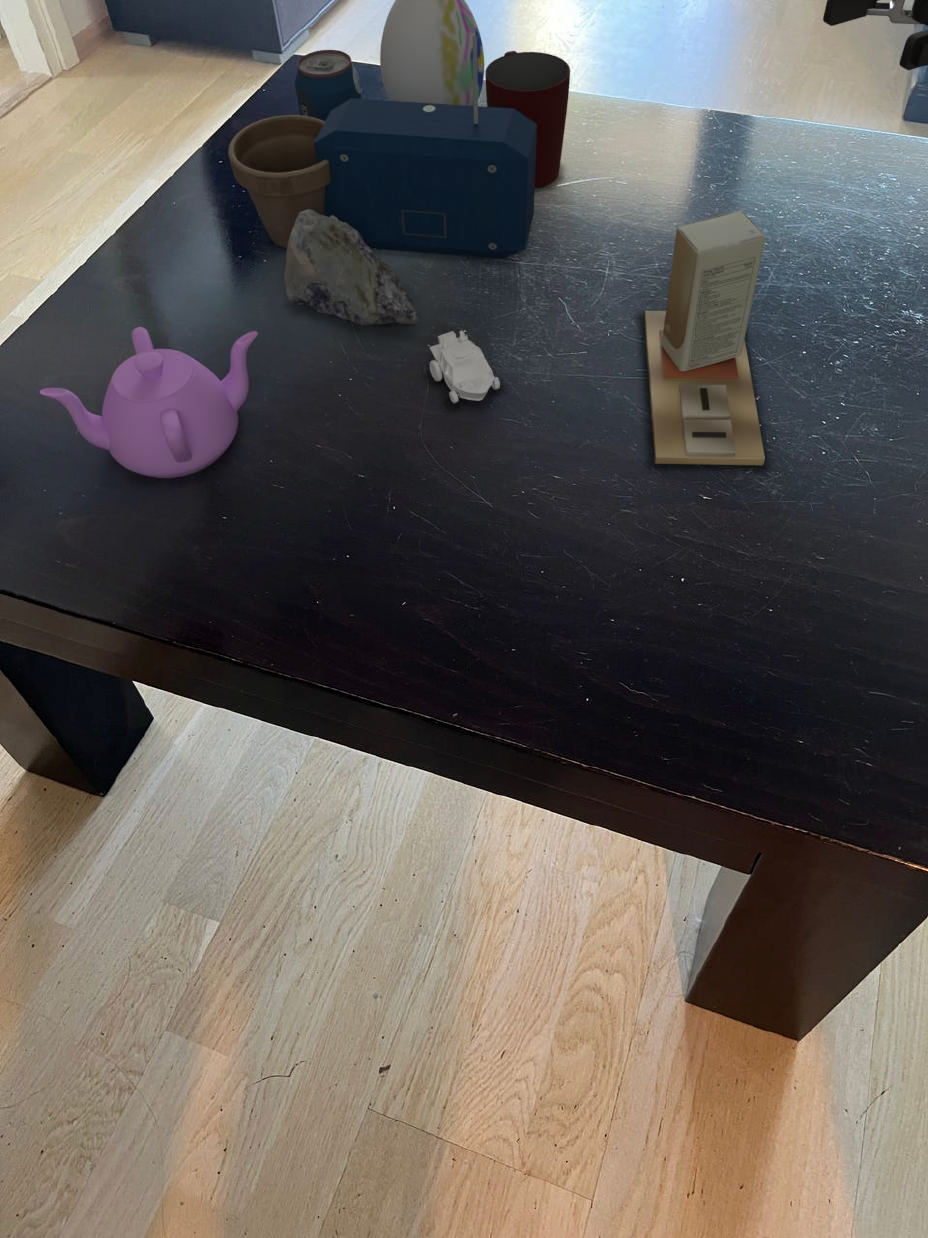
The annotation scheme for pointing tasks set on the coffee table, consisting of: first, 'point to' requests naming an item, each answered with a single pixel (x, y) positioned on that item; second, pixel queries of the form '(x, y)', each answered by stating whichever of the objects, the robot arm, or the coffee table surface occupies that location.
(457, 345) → the toy car
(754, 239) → the cosmetic box
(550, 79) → the mug
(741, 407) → the word board
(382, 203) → the radio
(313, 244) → the mineral rock
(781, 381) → the coffee table surface
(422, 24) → the decorative egg
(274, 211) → the flower pot
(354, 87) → the soda can
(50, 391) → the teapot
